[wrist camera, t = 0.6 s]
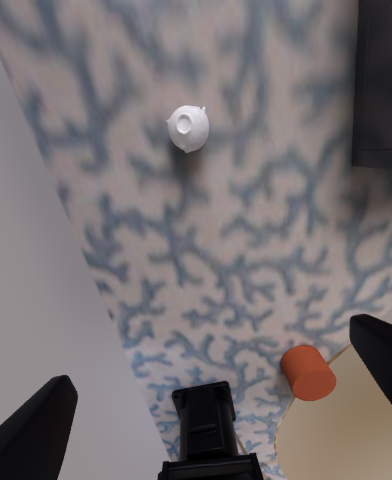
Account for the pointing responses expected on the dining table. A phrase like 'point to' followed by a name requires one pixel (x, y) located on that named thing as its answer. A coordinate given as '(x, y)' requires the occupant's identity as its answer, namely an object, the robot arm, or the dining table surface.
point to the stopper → (307, 373)
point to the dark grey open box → (373, 86)
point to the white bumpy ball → (188, 128)
